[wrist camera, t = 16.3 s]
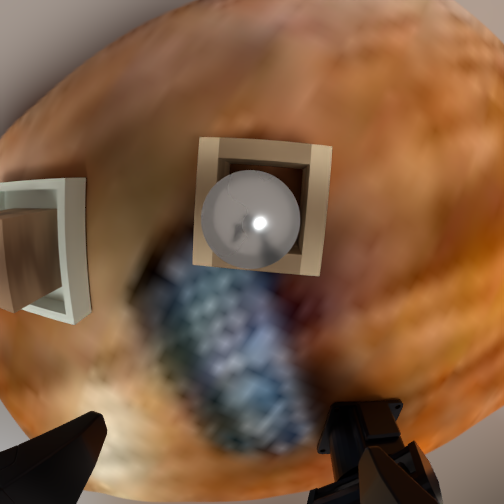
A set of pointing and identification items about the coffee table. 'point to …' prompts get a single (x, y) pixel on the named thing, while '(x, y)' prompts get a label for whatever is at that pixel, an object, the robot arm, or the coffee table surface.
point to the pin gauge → (250, 219)
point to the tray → (69, 240)
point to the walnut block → (28, 256)
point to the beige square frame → (277, 155)
